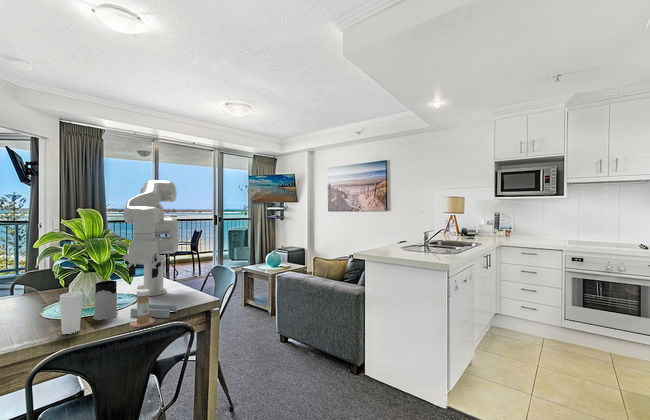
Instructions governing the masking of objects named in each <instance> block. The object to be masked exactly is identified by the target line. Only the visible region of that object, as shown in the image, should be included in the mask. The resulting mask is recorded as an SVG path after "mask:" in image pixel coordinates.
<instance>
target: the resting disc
mask: <svg viewBox="0 0 650 420" xmlns="http://www.w3.org/2000/svg"><path fill="white" fill-rule="evenodd" d="M133 321H134V320H133ZM155 322H156V318H152V317H149V321H147V322H145V323H137V321H134V322H132V321H131V322H129V326H130V327H131V328H142V327H146V326H149V325H152V324H154V323H155Z"/></svg>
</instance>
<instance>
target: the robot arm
mask: <svg viewBox="0 0 650 420" xmlns="http://www.w3.org/2000/svg"><path fill="white" fill-rule="evenodd" d="M139 190H140V192H139V193H140V194H137V195H136V196H134V197H132V198H130V199H129V200H128V201H127V202H126V204H125V207H124V210H123V220H124V222H126V223H127V224H133V232H132V233H131V234H130V236H131V237H132V240H131V241H130V244H129V249H128V254H126V255H124V256H123V257H122V259H123V262H124V264H125V265H126V267H127V268H128V278H133V277H134V276H136V273H137V271H136V269H137V268H136V266H135V265H141V266H142V265H143V285H142V284H138V285H137V287H136V289H137V290H141V289H149V291H150V294H149V297H156V296H160V295H163V294H166V292H167V288H165V287H164V272H165V271H164V265H165V263H164V261H165V259H166V258H165V257H164V256H163V255H164V254H174V253H176V252H177V251H178V250H179V222H178V221H179V220H177V219H176V218H175V217H165V208H164V207H163V205H162V204H161V203H162V202H164V203H165V202H166V203H172V202H175V201H176V199H177V194H178V193H177V192H178V191H177V187H176V184H175V183H174V182H173V181H171V180H158V179H151V180H147V181H145V183H144V184H143V186H142V187H141V188H140V189H139ZM155 235H169V236H155ZM162 254H163V255H162Z"/></svg>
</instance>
